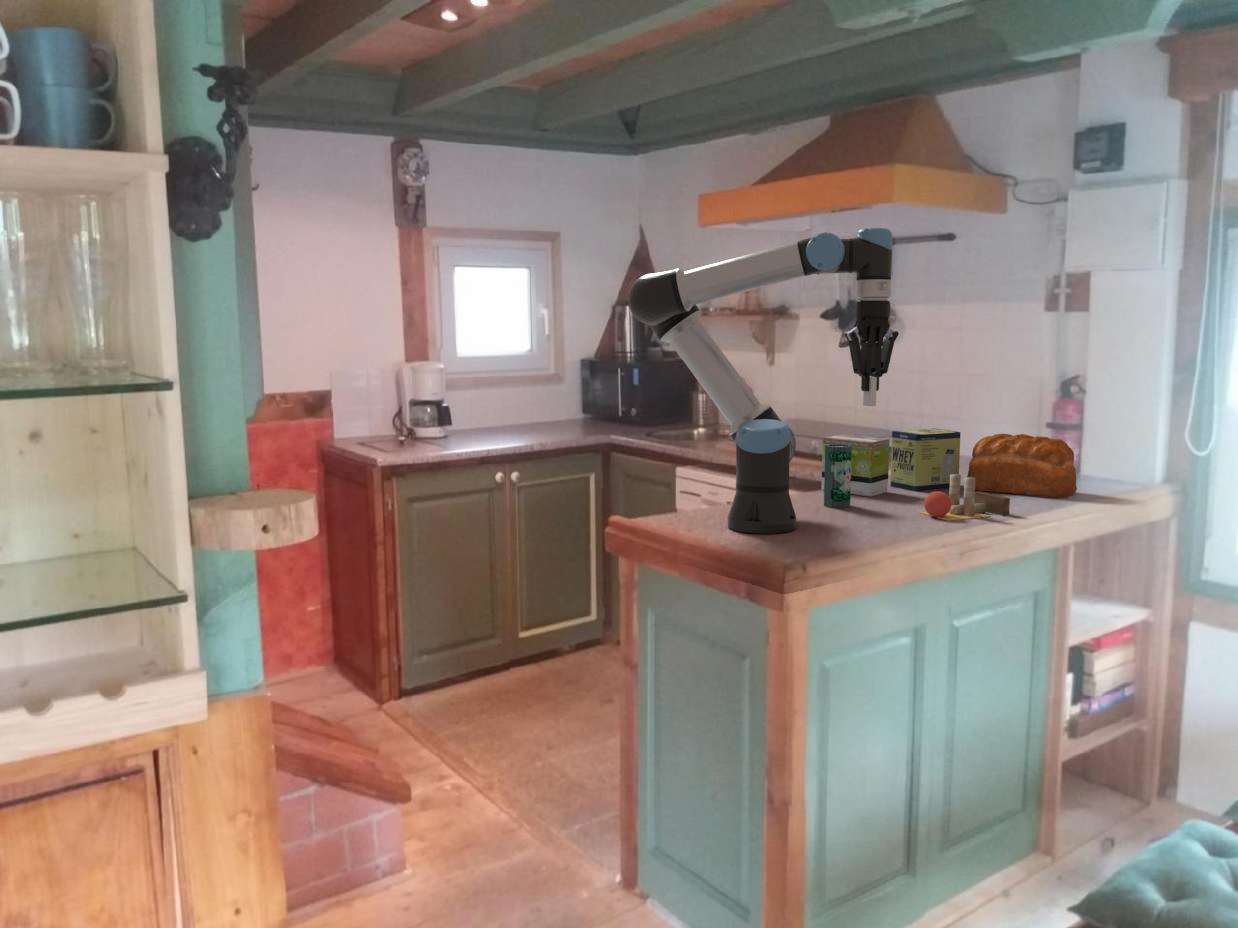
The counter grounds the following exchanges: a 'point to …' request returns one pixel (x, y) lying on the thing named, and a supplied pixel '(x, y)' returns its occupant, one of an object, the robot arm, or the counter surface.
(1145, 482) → the counter surface
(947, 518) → the plate
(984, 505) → the pin front
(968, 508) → the pin rear right
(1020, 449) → the bread
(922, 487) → the protein box
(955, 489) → the pin rear left
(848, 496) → the can
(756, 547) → the counter surface
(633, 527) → the counter surface
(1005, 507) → the back rail
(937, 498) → the ball
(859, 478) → the tea box
